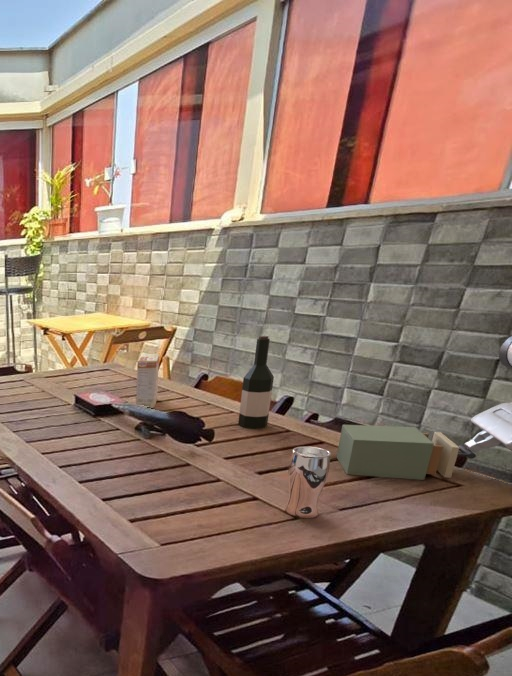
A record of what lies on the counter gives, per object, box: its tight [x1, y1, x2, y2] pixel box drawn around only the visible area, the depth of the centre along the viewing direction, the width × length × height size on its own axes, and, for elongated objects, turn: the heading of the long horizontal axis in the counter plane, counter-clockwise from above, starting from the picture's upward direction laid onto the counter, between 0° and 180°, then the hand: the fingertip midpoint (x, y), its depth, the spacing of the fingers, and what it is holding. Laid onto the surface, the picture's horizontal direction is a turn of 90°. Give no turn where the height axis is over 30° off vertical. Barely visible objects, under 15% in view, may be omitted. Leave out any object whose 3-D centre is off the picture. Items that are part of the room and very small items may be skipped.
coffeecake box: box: [135, 353, 160, 408], centre depth 200 cm, size 15×7×20 cm, turn 150°
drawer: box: [422, 431, 477, 479], centre depth 123 cm, size 18×11×8 cm, turn 61°
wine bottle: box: [237, 335, 275, 430], centre depth 162 cm, size 8×8×30 cm
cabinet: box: [335, 424, 434, 481], centre depth 127 cm, size 15×13×10 cm
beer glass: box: [284, 445, 332, 519], centre depth 110 cm, size 7×7×15 cm
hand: (468, 448), depth 118 cm, fingers closed, pressing on drawer
